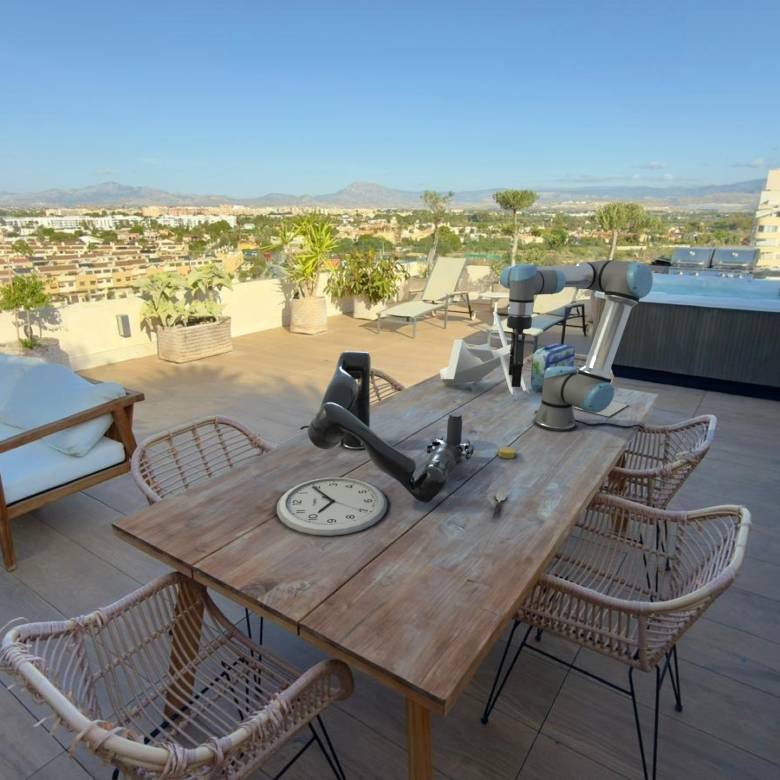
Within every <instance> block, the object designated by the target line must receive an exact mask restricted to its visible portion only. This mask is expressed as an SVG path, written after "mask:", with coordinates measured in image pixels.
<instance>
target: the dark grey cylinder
mask: <svg viewBox="0 0 780 780" xmlns="http://www.w3.org/2000/svg"><path fill="white" fill-rule="evenodd" d="M446 430H447V431H446V443H448V444H451V445H457V444H462V434H463V415H462V413H460V412H455V411H454V412H452V411H451V412H449V414H448V418H447V427H446ZM458 448H459V447H458ZM459 462H461V457H459V458H458V460H457V462H456V464H457V463H459Z"/></svg>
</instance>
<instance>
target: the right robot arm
mask: <svg viewBox="0 0 780 780" xmlns="http://www.w3.org/2000/svg"><path fill="white" fill-rule="evenodd" d="M653 279H654V277H653V273H652V270H651V267H650V266H649V265H648V264H646V263H644V262H639V261H633V260H632V261H630V260H629V261H627V260H613V259H603V260H594V261H585V262H579V263H577V264H576V265H544V266H537V265H536V264H531V263H515V264H513V265H512V266H510V265H509V266H506V267H504V268H503V270H502V271H501V272H500V279H499V281H500V284H501V286H502V287H503V288H505V289H508V290H509V292H508V293H509V294H508V303H506V307H507V314H508V315H507V318H506V327H507V328H508V329H510V330H511V329H512V332H511V335H510V337H511V338H510V344H511V348H510V355H512V356H510V360H509V363H508V368H509V375H511V378H512V384H511V387H514V388H521V387H522V386H521V375H522V371H523V367H524V355H525V353H524V352H525V351H524V350H525V340H526V334H525V332H524V330H531V328H532V326H533V325H532V323H533V316H532V315H533V314H534V305H535V304H534V303H535V296H540V295H542V296H543V295H555V294H559V293H561V292H562V291H563V290H564V288H576V289H578V290H588V291H594V292H599V293H604V294H603V298H604V299H605V305H604V308H603V311H602V314H601V317H600V319H599V323H598V326H597V328H596V331H595V334H594V337H593V340H592V343H591V345H590V349H589V352H588V354H587V358H586V361H585V363H584V366H582V367H580V368H579V369H577V367H574V366H573V367H569V366H555V367H549V368H547V369H546V370H545V374H544V378H543V379H544V380H543V390H541V391H542V392H541V402H540V405H539V407H538V409H535V410H534V415H535V416H534V424H535V425H536V426H537V427H539V428H542V429H544V430H549V431H556V432H567V431H572V430H574V429H575V428H576V423H578V424H582V425H585V426H592V427H594V426H595V427H596V426H603V425H604V426H613V427H618V428H622V429H623V428H624V429H631V428H635V427H638V428H640V429H641V430H642V429H643V430H645V427H644V426H642V425H641V424H633V425H622V424H616V423H612V422H596V423H588V422H585V421H583V420H578V419H576V418H575V417H576V416H575V413H574V407H578V408H581V409H583V410H582V411H584V410H585V411H584V412H588V411H590V412H589V413H592V412H593V414H596V413H598V412H601V411H603V410H604V409H606V408H607V407H608V406H609V404H610V403H611V401H613V399H614V396H615V387H614V385H612V384H611V383H612V380H613V378H612V376H611V375H610V372H611V369H612V365H613V363H614V360H615V357H616V355H617V351H618V348H619V345H620V342H621V341H622V337H623V334H624V331H625V329H626V325H627V322H628V320H629V317H630V314H631V311H632V308H634V307H635V306H637V305H639V302H640V300H641V299H643V298H645V297H647V296H648V295H649V293H650V292H651V290H652V287H653V283H654V282H653V281H654V280H653ZM518 362H520V363H518Z"/></svg>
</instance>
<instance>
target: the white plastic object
mask: <svg viewBox="0 0 780 780" xmlns="http://www.w3.org/2000/svg"><path fill="white" fill-rule="evenodd" d="M492 315H493V319H494V321H495V324H496V325H495V326H496V328H497V332H498V335H499V338H500V342H501V345H502V347H500V348H498V349H496V350H495V349H493V348H492V347H491V346H490V344H489V343H488V342H487V343H483V344H479V345H473V346H469V345H468V343H466V342H465V340H464V339H463V338H460V339H458V338H454V340H453V344H452V349H451V353H450V357H449V362H448V366H446V367H444V368H442V369H440V370H439V371H438V372H439V376H440V381H442V383H443V384H444V385H445V386H449V385H458V384H467V383H468V384H469V383H473V384H477V383H480V382H482V381H484V378H485V377H486V376H487V375H489V374H490V373H492V372H494V371H495V370H496V369H497V368H499V367H500V366H502V370H503V373H504V376H505V380H506V383H507V386H508V390H509V393H510V394H511V395H512V397H513V398H514V399H515V400H517V392H516V391H517V390H516V387H511V384H512V375H509V364H508V361H510V356H512V355H510V348H511V343H510V344H508V341H507V337H506V334H505V331H504V328H503V325H502V321H501V318H500V315H499V314H498V312H497V311H496V310H495V311H492ZM518 363H520V362H518ZM520 387H521V389H522V391H523V393H524V395H525V396H526V397H528V396H531V395H530V390H529V388H528V387H529V386H528V384H527V381H526V378H525V375H524V371H523V370H522V375H521V386H520Z"/></svg>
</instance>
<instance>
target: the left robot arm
mask: <svg viewBox="0 0 780 780" xmlns="http://www.w3.org/2000/svg"><path fill="white" fill-rule="evenodd" d="M371 367H372V359H371V355H370V353H369V352H367V351H351V350H349V351H348V350H347V351H343V352H341V353H340V354H339V356H338V359H337V362H336V366H335V369H334V373H333V374H332V377H331V379H330V381H329V383H328V385H327V387H326V389H325V391H324V395H323V398H322V400H321V403H320V406H319V410H318V411H317V413H315V415H314V417H313V418H312V419H311V421H310V422H309V425H303V426H301V427H299V430H304V429H307V435H308V438H309V441H310V442H311V443H312V445H314V447H316V448H318V449H320V450H330V449H331V450H332V449H333V448H335V447H336V446H338V445H339V444H340V446H341V447H344V448H346V449H349V450H355V451H356V450H363V449H365V451H366V452H367V454H368V456H369V458H370V460H371V461H372V463H373V465H374V466H376V468H377V469H378V470H380V471H381V472H382V473H384V474H386V475H387V476H389V477H391V478H393V479H394V480H396V481H397V482H399V483H400V484H401V486H403V487H404V488H405V489H406V491H407V492H409V494H410V495H411V496H412V497H413V498H414V499H415V500H416V501H418V502H420V503H426V504H427V503H430V502H432V501H433V500H434V499H435V498H436V497H437V495H438V494H440V492H441V491H442V490H443V489H444V488H445V487H446V486H447V484H448V482H449V475H450V473H452V471H453V470H454V468H455V466H456V465H457V463H458V462H457V460H458V458H459V457H460V458H461V457H465V459H466V460H470V459H471V458H472V456H473V455H474V447H475V445H474V444H471V441H470V440H469V439H466V440H465V442H464V443H461V444H457V445H451V444H448V443H447V442H444V436H443V435H440V436H438V437H437V438H436V439H433V438H429V441H428V442H427V445H426V453H427V454H431V455H430V457H429V460H428V461H427V462H426V465H425V467H424V470H422V472H421V473H420V474H419V475H418V477H415V476H414V473H415V471H416V467H417V463H416V461H415V460H414V459H413V458H412V457H410V456H409V455H407V454H406V453H404V452H402V451H401V450H399V449H397V448H395V447H394V446H392V445H391V444H389V443H388V442H387V441H385V440H384V439H383V438H381V437H380V436H379V435H378V434H377V433H375V431H373V430H372V428H370V426H371V425H370V423H371V422H370V419H371V418H370V417H371V412H370V411H371V407H370V406H371V405H370V403H371V395H370V394H371V369H372V368H371ZM357 380H360V381H359V382H357ZM458 447H459V448H458ZM456 462H457V463H456Z"/></svg>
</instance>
